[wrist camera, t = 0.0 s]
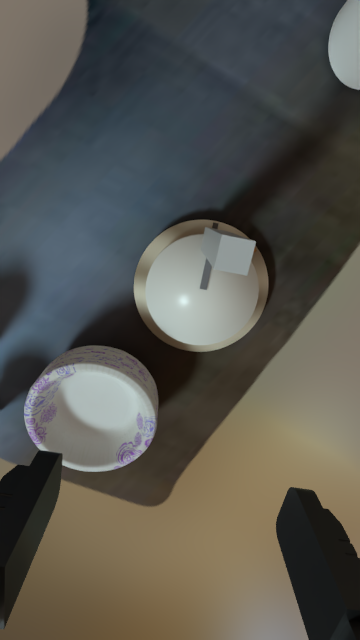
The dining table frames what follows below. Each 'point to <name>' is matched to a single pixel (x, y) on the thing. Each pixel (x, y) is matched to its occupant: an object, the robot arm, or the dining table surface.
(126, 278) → the dining table surface
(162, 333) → the dial base
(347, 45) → the beverage can
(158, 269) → the dial
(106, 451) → the paper bowls
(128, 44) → the dining table surface
